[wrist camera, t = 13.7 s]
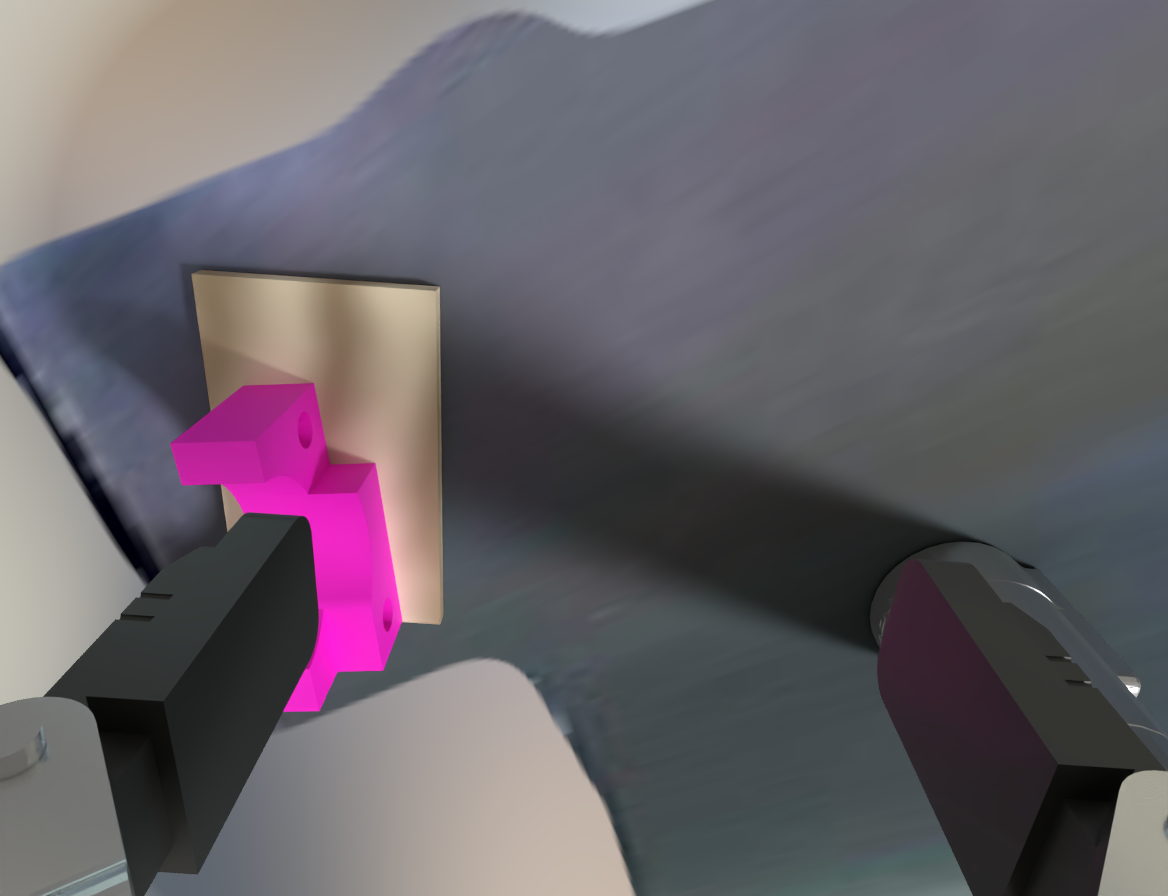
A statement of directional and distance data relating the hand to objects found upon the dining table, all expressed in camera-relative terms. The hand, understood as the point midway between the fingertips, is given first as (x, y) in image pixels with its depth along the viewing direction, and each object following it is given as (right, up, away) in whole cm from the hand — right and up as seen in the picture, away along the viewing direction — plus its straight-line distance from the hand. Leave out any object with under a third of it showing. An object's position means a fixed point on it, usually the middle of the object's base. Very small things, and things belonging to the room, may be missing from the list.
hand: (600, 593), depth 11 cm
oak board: (-14, +1, +33) cm, 36 cm away
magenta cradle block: (-14, -1, +33) cm, 36 cm away
